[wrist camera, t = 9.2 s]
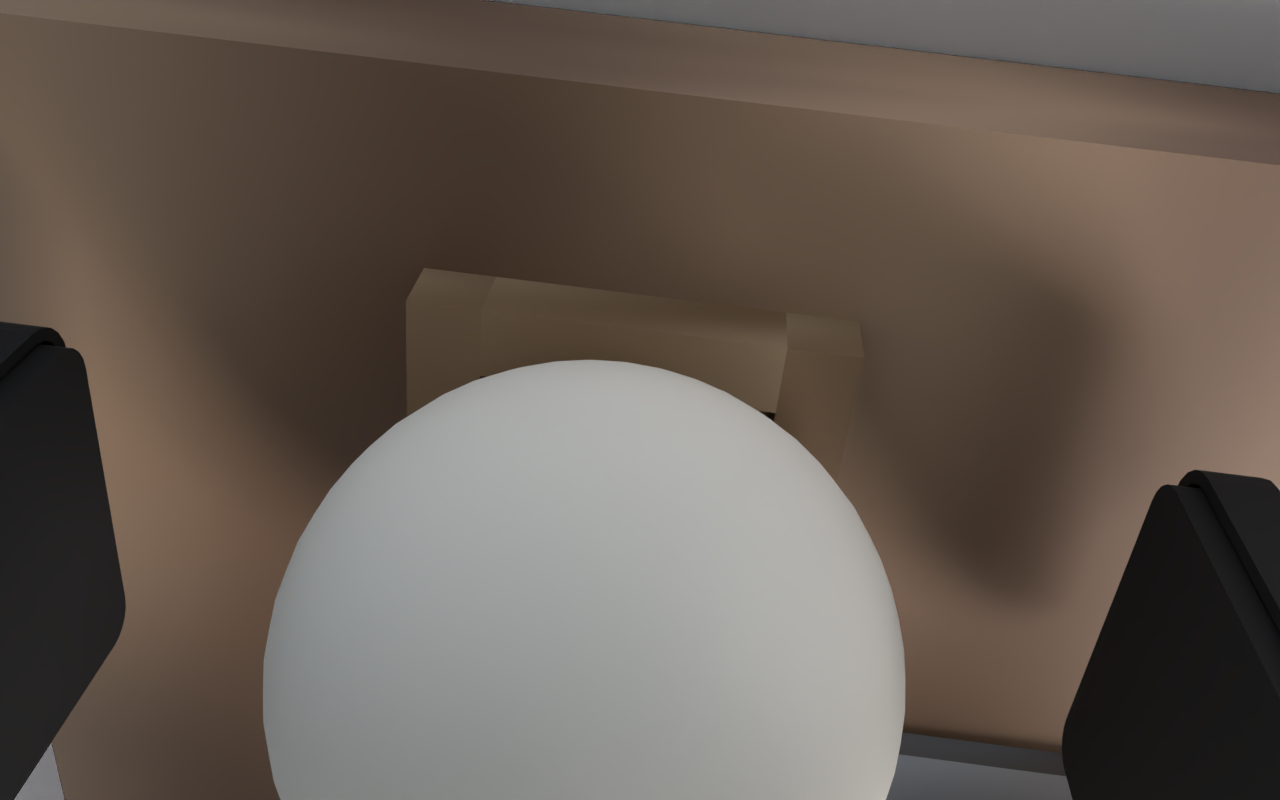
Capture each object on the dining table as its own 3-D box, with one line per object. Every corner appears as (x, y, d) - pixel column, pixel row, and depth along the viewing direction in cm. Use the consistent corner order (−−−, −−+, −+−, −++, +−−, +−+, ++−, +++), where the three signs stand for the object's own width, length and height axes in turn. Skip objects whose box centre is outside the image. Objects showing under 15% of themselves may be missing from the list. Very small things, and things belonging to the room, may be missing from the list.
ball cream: (930, 293, 9) (1043, 725, 6) (828, 703, 12) (859, 1205, 8) (359, 223, 10) (91, 601, 6) (372, 645, 12) (189, 1110, 8)
